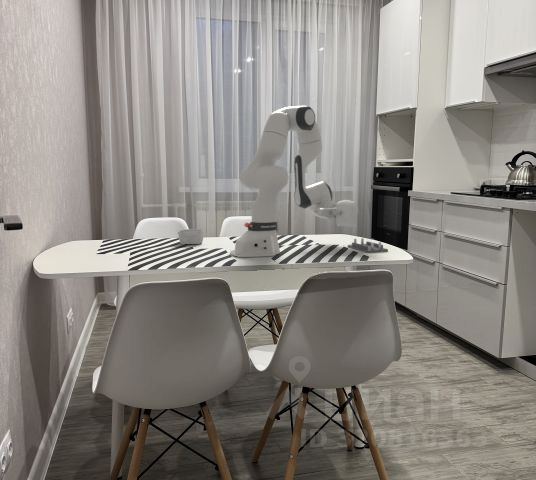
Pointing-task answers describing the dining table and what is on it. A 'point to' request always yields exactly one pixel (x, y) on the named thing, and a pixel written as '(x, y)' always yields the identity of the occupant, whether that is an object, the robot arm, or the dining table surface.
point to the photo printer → (347, 214)
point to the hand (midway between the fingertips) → (346, 212)
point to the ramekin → (191, 236)
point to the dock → (367, 246)
